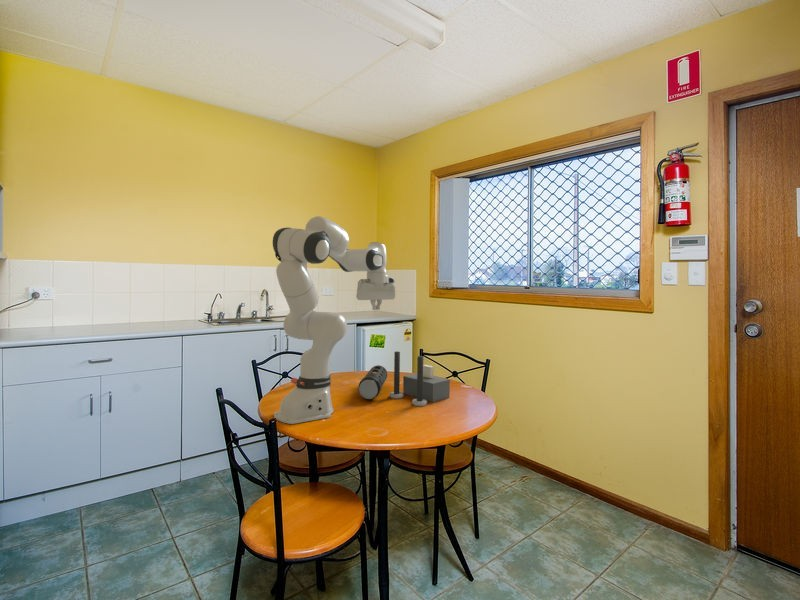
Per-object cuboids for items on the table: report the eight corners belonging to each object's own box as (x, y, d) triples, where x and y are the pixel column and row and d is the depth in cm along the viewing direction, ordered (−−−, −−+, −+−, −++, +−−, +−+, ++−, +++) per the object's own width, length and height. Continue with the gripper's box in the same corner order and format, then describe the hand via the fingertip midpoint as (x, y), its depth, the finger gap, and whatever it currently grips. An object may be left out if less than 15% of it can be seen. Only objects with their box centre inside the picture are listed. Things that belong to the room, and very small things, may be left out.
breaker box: (432, 402, 176) (433, 383, 175) (403, 393, 189) (403, 376, 188) (449, 397, 183) (449, 379, 183) (419, 389, 196) (420, 372, 196)
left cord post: (396, 399, 179) (396, 353, 178) (387, 396, 183) (387, 351, 182) (406, 397, 183) (406, 352, 182) (396, 394, 187) (397, 350, 186)
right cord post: (419, 407, 169) (420, 358, 168) (409, 403, 173) (410, 356, 172) (429, 404, 173) (430, 356, 172) (419, 401, 177) (420, 354, 176)
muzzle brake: (387, 386, 202) (388, 365, 201) (379, 403, 174) (379, 378, 173) (368, 385, 203) (368, 364, 202) (356, 402, 175) (357, 378, 174)
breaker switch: (430, 378, 184) (430, 367, 184) (422, 376, 187) (422, 365, 187) (433, 377, 185) (433, 366, 185) (425, 375, 189) (425, 364, 189)
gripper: (362, 278, 177) (362, 311, 178) (397, 279, 191) (397, 309, 192) (353, 278, 182) (353, 310, 182) (388, 279, 196) (388, 308, 196)
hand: (376, 309), depth 187 cm, fingers closed
